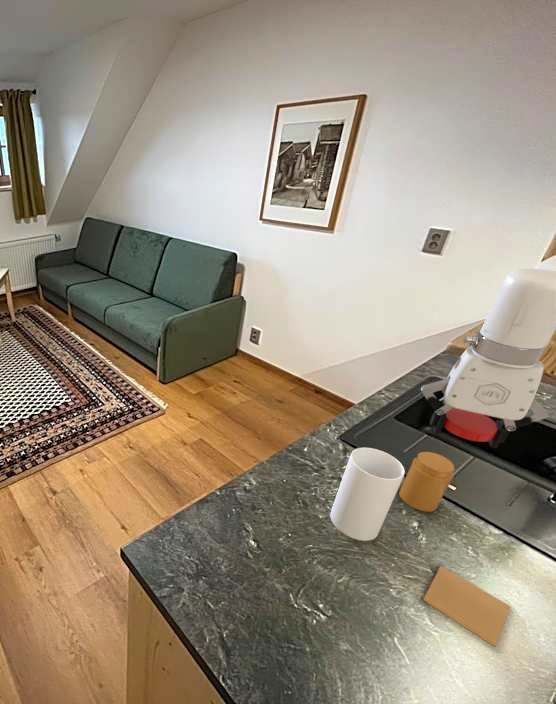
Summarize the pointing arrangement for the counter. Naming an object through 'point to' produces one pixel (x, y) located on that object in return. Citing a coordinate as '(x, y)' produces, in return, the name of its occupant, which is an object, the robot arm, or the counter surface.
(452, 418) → the lid
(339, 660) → the counter surface
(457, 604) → the mat
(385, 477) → the cup
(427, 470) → the jar
